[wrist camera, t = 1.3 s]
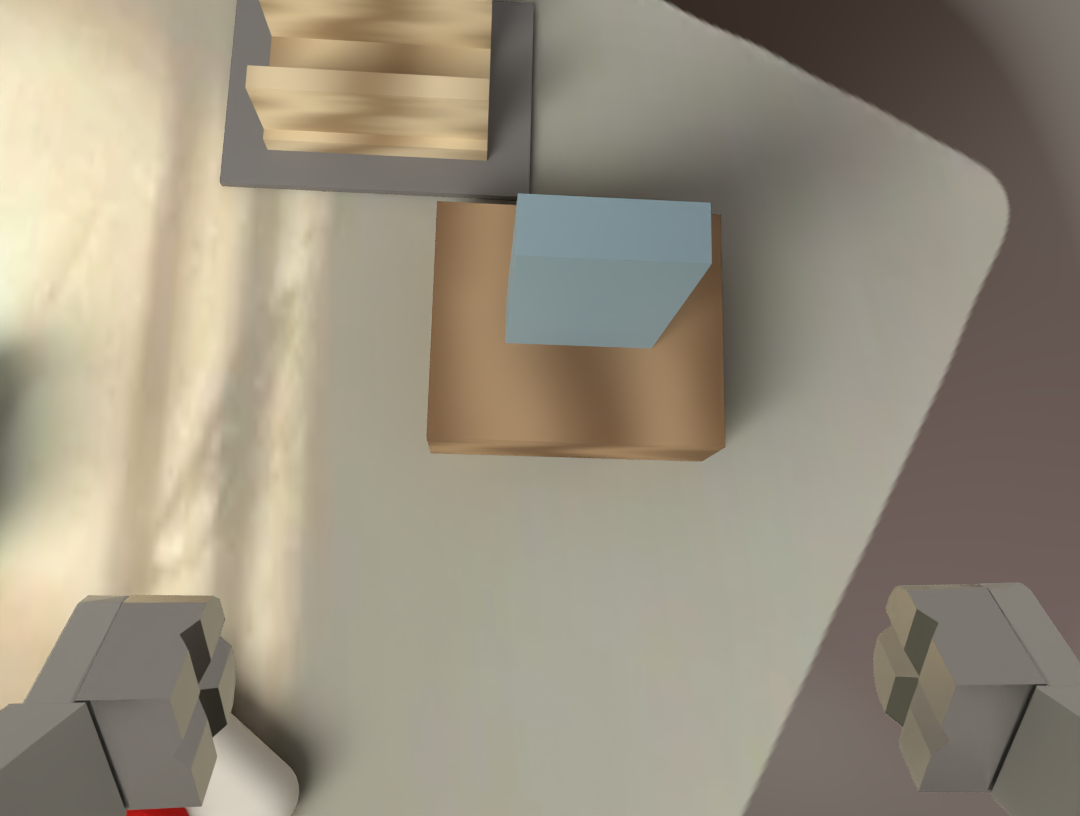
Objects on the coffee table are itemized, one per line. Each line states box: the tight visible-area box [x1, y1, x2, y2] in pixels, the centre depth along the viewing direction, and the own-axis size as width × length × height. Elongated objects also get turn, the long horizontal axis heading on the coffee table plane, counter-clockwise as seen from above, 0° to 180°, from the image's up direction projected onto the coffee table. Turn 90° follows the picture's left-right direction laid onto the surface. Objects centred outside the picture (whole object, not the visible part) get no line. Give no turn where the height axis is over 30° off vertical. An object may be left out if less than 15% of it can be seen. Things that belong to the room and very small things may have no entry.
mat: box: [220, 0, 534, 200], centre depth 44 cm, size 14×10×1 cm
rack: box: [245, 0, 492, 161], centre depth 42 cm, size 10×7×5 cm, turn 89°
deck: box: [427, 201, 725, 461], centre depth 41 cm, size 12×10×4 cm
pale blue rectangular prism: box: [505, 193, 712, 349], centre depth 34 cm, size 6×2×10 cm, turn 89°
